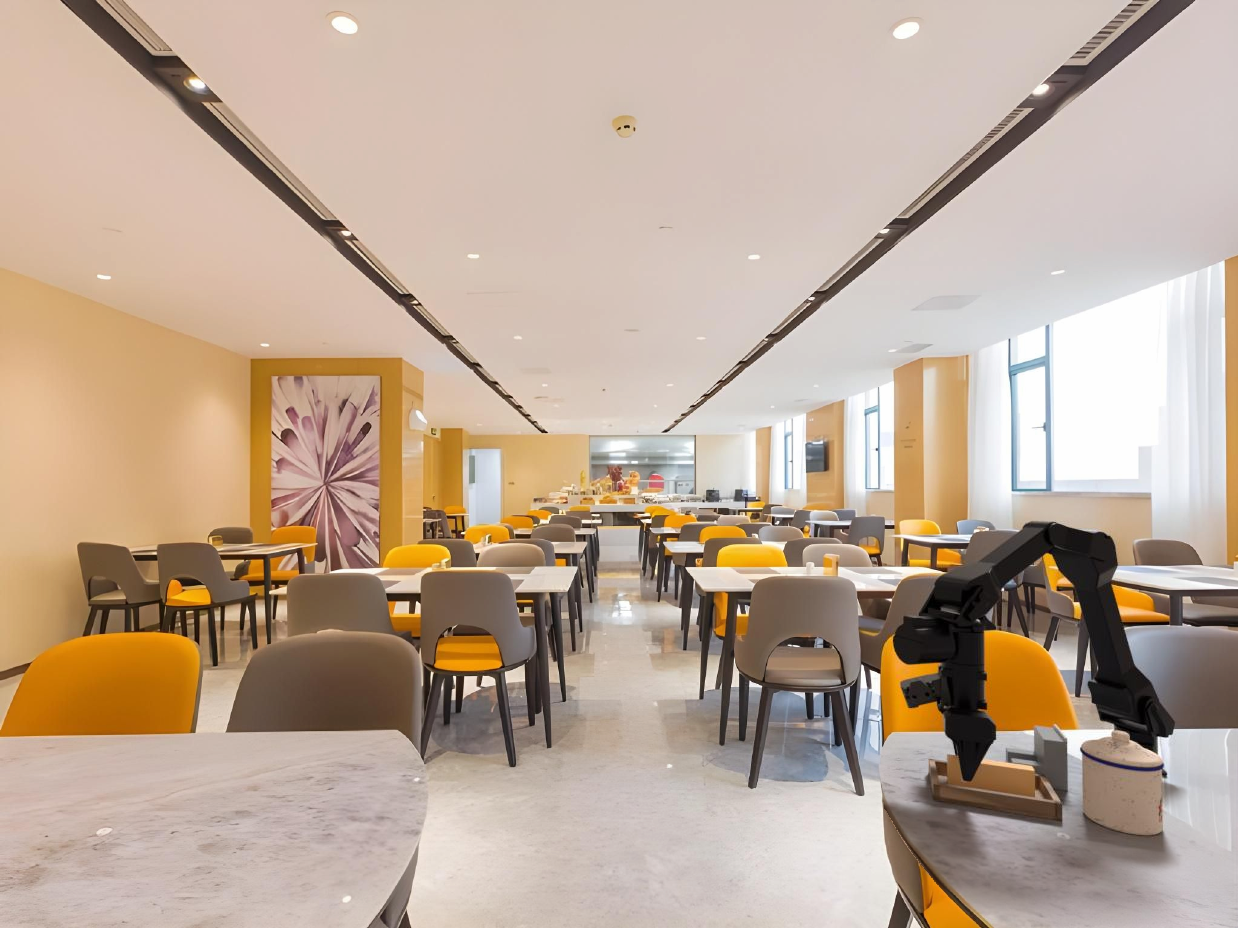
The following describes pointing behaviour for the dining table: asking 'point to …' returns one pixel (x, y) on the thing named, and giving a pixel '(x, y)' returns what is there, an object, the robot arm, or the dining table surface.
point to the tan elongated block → (995, 777)
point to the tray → (996, 795)
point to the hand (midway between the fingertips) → (963, 768)
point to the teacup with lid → (1122, 785)
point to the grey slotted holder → (1045, 756)
